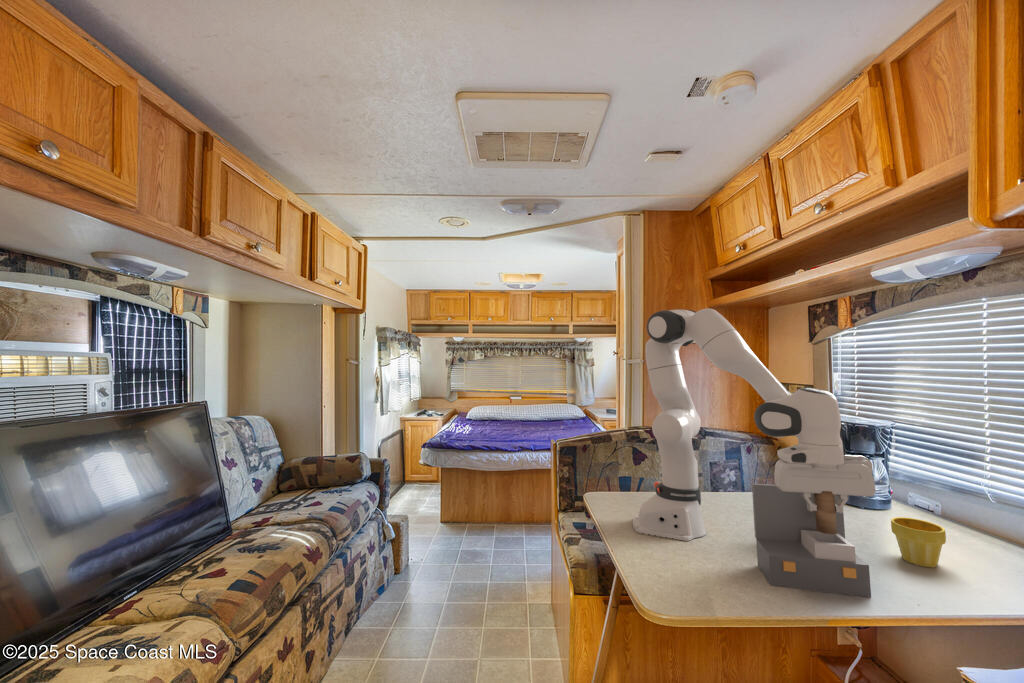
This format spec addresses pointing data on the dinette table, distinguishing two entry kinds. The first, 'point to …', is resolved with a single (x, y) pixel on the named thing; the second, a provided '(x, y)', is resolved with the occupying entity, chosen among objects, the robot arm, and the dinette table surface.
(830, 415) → the robot arm
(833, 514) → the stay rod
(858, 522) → the dinette table surface
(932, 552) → the plant pot
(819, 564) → the case
